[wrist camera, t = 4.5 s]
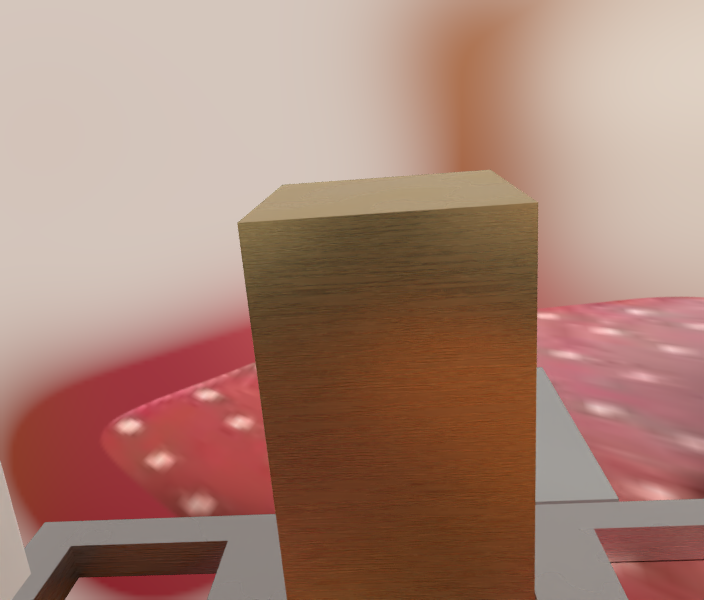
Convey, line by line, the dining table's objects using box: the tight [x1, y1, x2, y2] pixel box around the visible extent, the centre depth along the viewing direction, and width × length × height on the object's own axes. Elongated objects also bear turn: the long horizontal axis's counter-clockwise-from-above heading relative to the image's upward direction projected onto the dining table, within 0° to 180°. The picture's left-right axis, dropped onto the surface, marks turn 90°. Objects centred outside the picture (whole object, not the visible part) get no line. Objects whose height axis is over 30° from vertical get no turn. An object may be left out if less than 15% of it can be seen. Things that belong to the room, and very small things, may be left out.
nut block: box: [238, 170, 538, 600], centre depth 15 cm, size 5×5×12 cm
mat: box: [535, 367, 619, 505], centre depth 27 cm, size 11×11×1 cm
